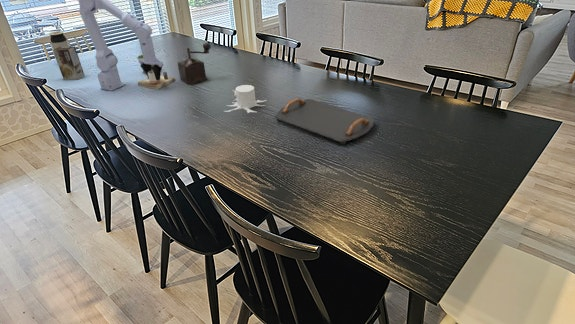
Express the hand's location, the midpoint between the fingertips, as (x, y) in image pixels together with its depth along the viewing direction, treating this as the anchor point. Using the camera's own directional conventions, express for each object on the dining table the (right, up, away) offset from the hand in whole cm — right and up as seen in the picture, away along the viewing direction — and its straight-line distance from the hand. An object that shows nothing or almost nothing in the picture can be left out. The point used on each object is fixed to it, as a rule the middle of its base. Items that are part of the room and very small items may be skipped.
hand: (154, 78), depth 189 cm
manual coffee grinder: (+20, +2, +9) cm, 22 cm away
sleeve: (0, -1, +1) cm, 2 cm away
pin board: (-1, -1, +6) cm, 6 cm away
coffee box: (-50, +4, +18) cm, 53 cm away
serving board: (+81, -27, -38) cm, 93 cm away
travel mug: (-67, +18, +40) cm, 80 cm away
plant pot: (-10, +8, +22) cm, 25 cm away
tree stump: (+48, -17, -21) cm, 55 cm away
